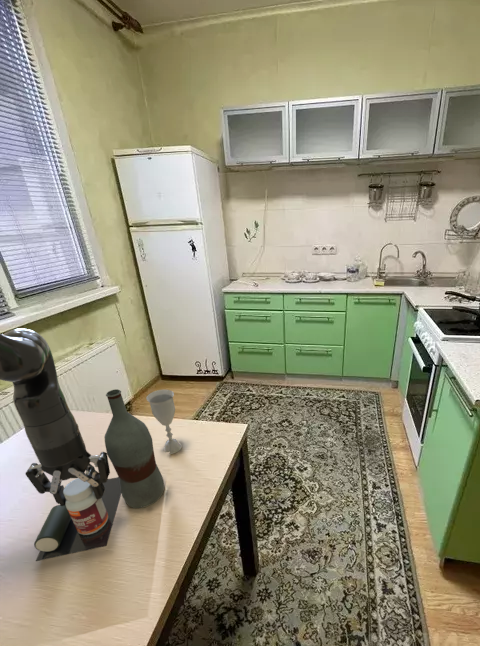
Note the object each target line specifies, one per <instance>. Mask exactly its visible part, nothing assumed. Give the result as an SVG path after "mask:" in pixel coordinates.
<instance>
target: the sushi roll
mask: <svg viewBox="0 0 480 646" xmlns="http://www.w3.org/2000/svg"><path fill="white" fill-rule="evenodd" d="M70 520H71V516H70V514H69V512H68V510H67V508H66V505H64V506H61V505H60V504H57V505H55V506H53V507H52V508H51V509H50V511H49V513H48V515H47V517H46V519H45V520H44V523H43V525H42V527H41V529H40V530H39V532H38V535H37V537H36V538H35V541H34V543H33V546H34V549H36V550H37V551H38V552H40V551H43V552H50V551H54V550H56V549H57V548H58V547H59V546H60V544H61V541H62V539H63V536H64V534H65V532H66V529H67V527H68V525H69V522H70Z"/></svg>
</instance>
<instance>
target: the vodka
mask: <svg viewBox="0 0 480 646" xmlns="http://www.w3.org/2000/svg"><path fill="white" fill-rule="evenodd" d="M122 395H123V394H122V390H120V389H111V390H109V391H107V392H106V394H105V397H107V400H108V404H109V407H110V411H111V414H112V417H111V420H110V422H109V424H108V427H107V429H106V432H105V434H104V446H105V452H106V453H107V458H108V460H109V461H110V462H111V464H112V466H113V469H114V470H115V472H116V475H117V477H119V480H120V487H121V497H122V498H123V500H124V502H125V503H126V505H127V506H128V507H130V508H132V509H143V508H146V507H149V506H151V505H153V504H154V503H156V502H157V501H158V500H159V499H160V498H161V497H162V496H163V494H164V492H165V483H164V477H163V474H162V473H161V471H160V469H159V466H158V465H157V462H156V457H155V451H154V444H153V443H154V441H153V437H152V435H151V432H150V431H149V428H148V426H147V425H146V423H145V422H143V421H142V420H141V419H140V418H137V417H136V416H135V415H133V414H131V413H129V412H128V411H127V408H126V405H125V401H124V398H123V396H122Z"/></svg>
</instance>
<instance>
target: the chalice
mask: <svg viewBox="0 0 480 646" xmlns="http://www.w3.org/2000/svg"><path fill="white" fill-rule="evenodd" d="M174 395H175V393H174V391H173V390H170V389H157V390H154V391H152V392H150V393H149V394H148V395H147V396H146V399H145V400H146V401H147V402H148V403H149V406H150V410H151V413H152V416H153V417H154V418H155V420H156V421H157V422H159V424H160V425H162V426H164V427H165V432H166V435H165V436H166V437H167V438H168V439H167V441H166V442H165V443H164V447H163V452H164V453H169V454H170V455H172V454H175V453H178V452H180V451H181V449H182V446H183V445H182V444H181V443H180V442H179V441H178V439H176V438H173V435H174V434H173V432H172V428H171V426H170V425H171V424H172V423H173V420H174V417H175V414H176V406H175V401H174Z"/></svg>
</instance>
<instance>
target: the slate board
mask: <svg viewBox="0 0 480 646" xmlns="http://www.w3.org/2000/svg"><path fill="white" fill-rule="evenodd" d="M103 485H104V487H105V491H104V494H103V496H102V497H101V498H102V501H103V503H104V506H105V508H106V511H107V514H108V520H107V522H106V524H105V525H104V526H103V527H102V528H101V529H100V530H99V531H97V532H95V533H93V534H90V535H82V534H80V533H78V531H77V529H76V527H75V525H74V523H73V521H72V519H71V520H70V522H69V525H68V527H67V529H66V532H65V534H64V536H63V539H62V541H61V544H60V546H59V547H58V548H57V549H56V550H54V551H50V552H43V551H39V553H38V555H37V557H36V559H35V562H39V561H44V560H48V559H53V558H58V557H63V556H67V555H72V554H76V553H80V552H85V551H89V550H95V549H98V548H104V547H106V546H107V545H108V541H109V539H110V534H111V531H112V528H113V524H114V522H115V518H116V514H117V511H118V507H119V503H120V500H121V497H122V493H121V487H120V480H119V477H118V476H116V477H111V478H108V479H107V482H105V483H103Z"/></svg>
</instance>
